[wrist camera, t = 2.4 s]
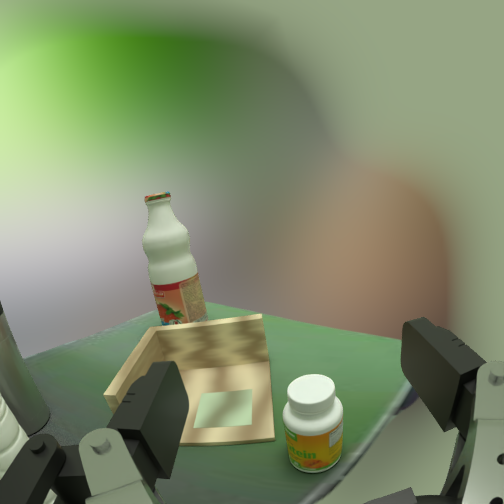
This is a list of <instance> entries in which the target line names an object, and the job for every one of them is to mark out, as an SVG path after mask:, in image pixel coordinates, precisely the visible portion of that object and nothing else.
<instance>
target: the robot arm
mask: <svg viewBox="0 0 504 504" xmlns="http://www.w3.org/2000/svg"><path fill="white" fill-rule="evenodd" d="M401 367H402V371H403V373H404V375H405V377H406V378H407V379H408V381H409V382H410V384H411V385H412V386H413V388H414V389H415V391H416V392H417V393H418V395H419V396H420V398H421V399H422V401H423V402H424V403H425V405H426V406H427V408H428V409H429V411H430V412H431V414H432V415H433V417H434V418H435V419H436V421H437V422H438V424H439V425H440V427H441V428H442V430H443V431H444V432H446V431H448V430H451V429H453V428H454V427H457V428H458V430H459V432H458V434H457V438H456V442H455V447H454V451H453V455H452V459H451V463H450V467H449V471H448V474H447V478H446V481H445V484H444V486H443V488H442V491H441V493H440V495H423V496H415V495H414V493H413V491H412V488H411V487H410V488H407V489H405V490H402V491H399V492H396V493H393V494H390V495H387V496H384V497H381V498H378V499H374V500H371V501H368V502H366V503H364V504H504V362H502V361H491V362H486V361H485V360H483V359H482V358H481V357H480V356H479V355H478V354H477V353H476V352H474V351H473V350H472V349H471V348H470V347H469V346H467V345H465V343H464V342H463V341H462V340H460V339H458V337H457V336H456V335H454V334H453V333H452V332H450V331H449V330H447V329H444V328H441V327H439V326H437V327H436V326H434V325H433V324H432V323H431V322H430V321H429V320H428V319H426V318H425V317H421V318H418V319H414V320H411V321H407V322H405V323H404V325H403V330H402V347H401ZM0 393H1V396H2V397H3V399H4V400H5V403H6V404H7V406H8V407H9V409H10V410H11V412H12V413H13V415H14V416H15V418H16V420H17V422H18V424H19V425H20V426H21V427H22V429H23V430H24V432H25V433H26V435H30V434H33V433H35V432H36V431H38V430H39V429H41V428H42V427H43V426H44V425H45V424H46V422H47V421H48V419H49V416H50V411H49V408H48V407H47V405H46V403H45V401H44V400H43V398H42V396H41V394H40V392H39V390H38V388H37V386H36V385H35V383H34V381H33V379H32V377H31V375H30V373H29V371H28V369H27V367H26V364H25V362H24V360H23V358H22V356H21V354H20V351H19V349H18V347H17V345H16V342H15V340H14V337H13V335H12V332H11V330H10V327H9V325H8V322H7V319H6V316H5V314H4V311H3V308H2V305H1V302H0ZM188 412H189V398H188V394H187V392H186V389H185V386H184V383H183V381H182V378H181V375H180V372H179V369H178V366H177V364H176V362H175V361H160V362H153V363H152V364H151V366H150V368H149V370H148V371H147V373H146V375H145V376H141V377H139V378H138V379H137V380H136V381H135V382H133V383H132V384H131V386H130V388H129V389H128V391H127V393H126V395H125V396H124V398H123V399H122V403H120V405H119V406H118V408H117V410H116V412H115V413H114V415H113V417H112V419H111V420H110V422H109V424H108V426H107V427H106V428H101V429H97V430H94V431H92V432H90V433H88V434H87V435H86V436H85V437H83V439H82V440H81V442H80V444H79V445H72V446H60V445H59V443H58V442H57V440H56V439H55V438H54V437H53V436H52V435H49V434H39V435H36V436H33V437H32V438H30V439H29V440H28V441H27V442H26V443H25V444H24V445H23V447H22V448H21V450H20V451H19V453H18V454H17V456H16V457H15V459H14V460H13V462H12V463H11V465H10V466H9V468H8V469H7V471H6V472H5V474H4V475H3V477H2V478H1V480H0V504H43V503H44V501H45V499H46V497H47V495H48V493H49V491H50V489H51V490H52V491H53V492H54V493H55V494H56V495H57V496H56V499H55V501H54V503H53V504H166V503H165V501H164V499H163V498H162V496H161V495H160V493H159V491H158V490H157V488H156V487H155V482H156V479H157V478H161V479H170V477H171V473H172V469H173V466H174V462H175V458H176V455H177V451H178V447H179V444H180V440H181V437H182V433H183V430H184V426H185V422H186V419H187V415H188Z"/></svg>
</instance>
